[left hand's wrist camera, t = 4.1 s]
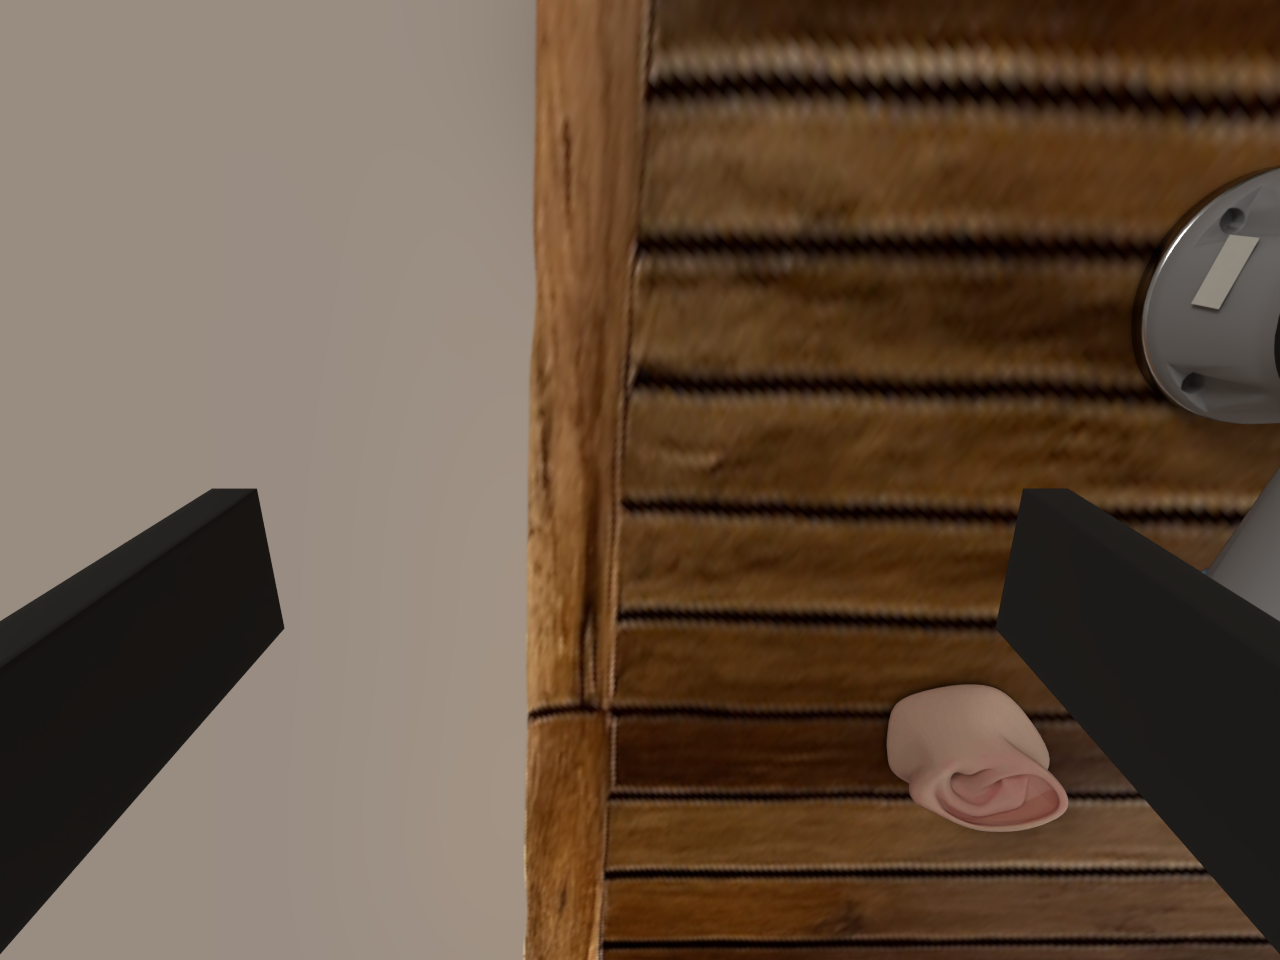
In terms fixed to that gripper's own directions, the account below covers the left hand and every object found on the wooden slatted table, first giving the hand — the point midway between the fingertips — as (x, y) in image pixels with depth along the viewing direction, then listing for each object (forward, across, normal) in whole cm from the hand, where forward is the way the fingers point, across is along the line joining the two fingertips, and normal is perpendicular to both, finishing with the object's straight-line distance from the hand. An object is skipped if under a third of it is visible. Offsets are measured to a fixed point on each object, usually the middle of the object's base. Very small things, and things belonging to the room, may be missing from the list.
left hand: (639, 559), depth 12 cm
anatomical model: (+34, +25, -33) cm, 54 cm away
